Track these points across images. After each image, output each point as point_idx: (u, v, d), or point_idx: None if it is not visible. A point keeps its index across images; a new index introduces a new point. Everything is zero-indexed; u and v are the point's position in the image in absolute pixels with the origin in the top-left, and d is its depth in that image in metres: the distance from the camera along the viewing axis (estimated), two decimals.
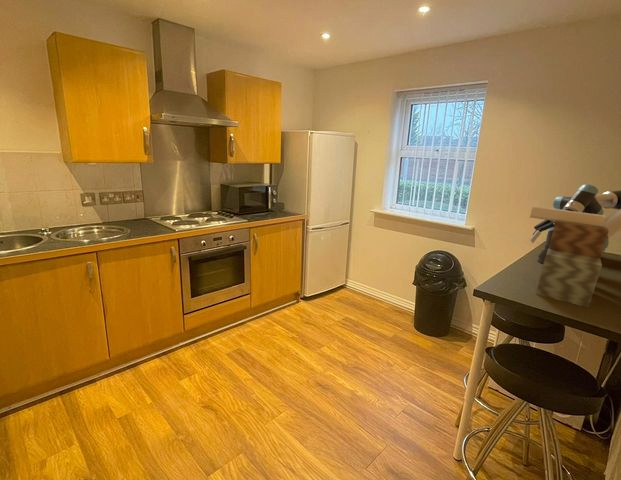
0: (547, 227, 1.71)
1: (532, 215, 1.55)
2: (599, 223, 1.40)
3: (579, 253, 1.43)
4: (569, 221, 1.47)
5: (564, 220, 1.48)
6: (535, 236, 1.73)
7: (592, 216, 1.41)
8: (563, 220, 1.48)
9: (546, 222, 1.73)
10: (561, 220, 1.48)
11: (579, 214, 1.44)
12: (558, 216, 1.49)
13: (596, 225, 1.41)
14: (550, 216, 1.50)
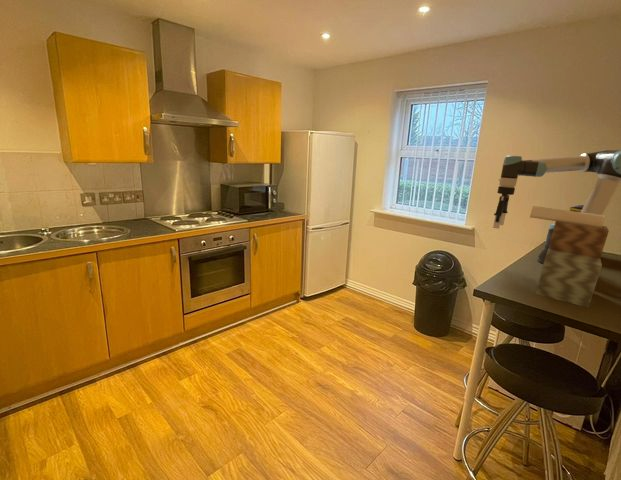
0: (503, 207, 1.78)
1: (532, 215, 1.55)
2: (599, 223, 1.40)
3: (579, 253, 1.43)
4: (569, 221, 1.47)
5: (564, 220, 1.48)
6: (500, 219, 1.82)
7: (592, 216, 1.41)
8: (563, 220, 1.48)
9: None
10: (561, 220, 1.48)
11: (579, 214, 1.44)
12: (558, 216, 1.49)
13: (596, 225, 1.41)
14: (550, 216, 1.50)
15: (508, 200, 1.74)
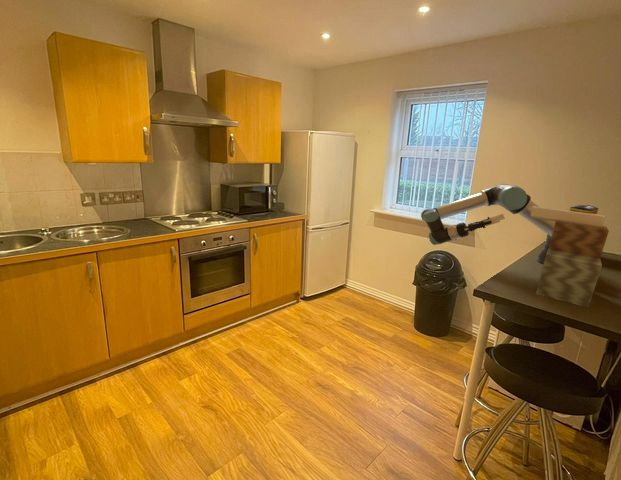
0: None
1: (532, 215, 1.55)
2: (599, 223, 1.40)
3: (579, 253, 1.43)
4: (569, 221, 1.47)
5: (564, 220, 1.48)
6: None
7: (592, 216, 1.41)
8: (563, 220, 1.48)
9: None
10: (561, 220, 1.48)
11: (579, 214, 1.44)
12: (558, 216, 1.49)
13: (596, 225, 1.41)
14: (550, 216, 1.50)
15: (471, 223, 1.74)
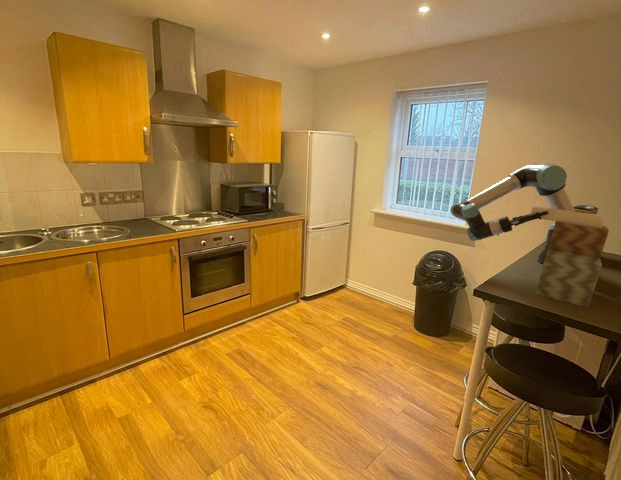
0: None
1: None
2: (599, 223, 1.40)
3: (579, 253, 1.43)
4: (569, 221, 1.47)
5: (564, 220, 1.48)
6: None
7: (592, 216, 1.41)
8: (563, 220, 1.48)
9: None
10: (561, 220, 1.48)
11: (579, 214, 1.44)
12: (558, 216, 1.49)
13: (596, 225, 1.41)
14: (550, 216, 1.50)
15: (515, 217, 1.61)
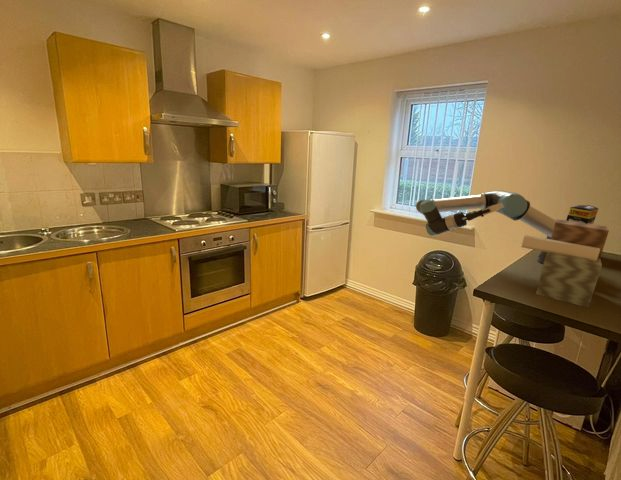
0: None
1: (524, 245, 1.47)
2: (594, 256, 1.33)
3: None
4: (562, 253, 1.39)
5: (557, 252, 1.40)
6: None
7: (586, 249, 1.34)
8: (556, 252, 1.41)
9: None
10: (554, 251, 1.41)
11: (572, 246, 1.37)
12: (551, 247, 1.41)
13: (590, 259, 1.34)
14: (542, 247, 1.43)
15: (469, 212, 1.69)
